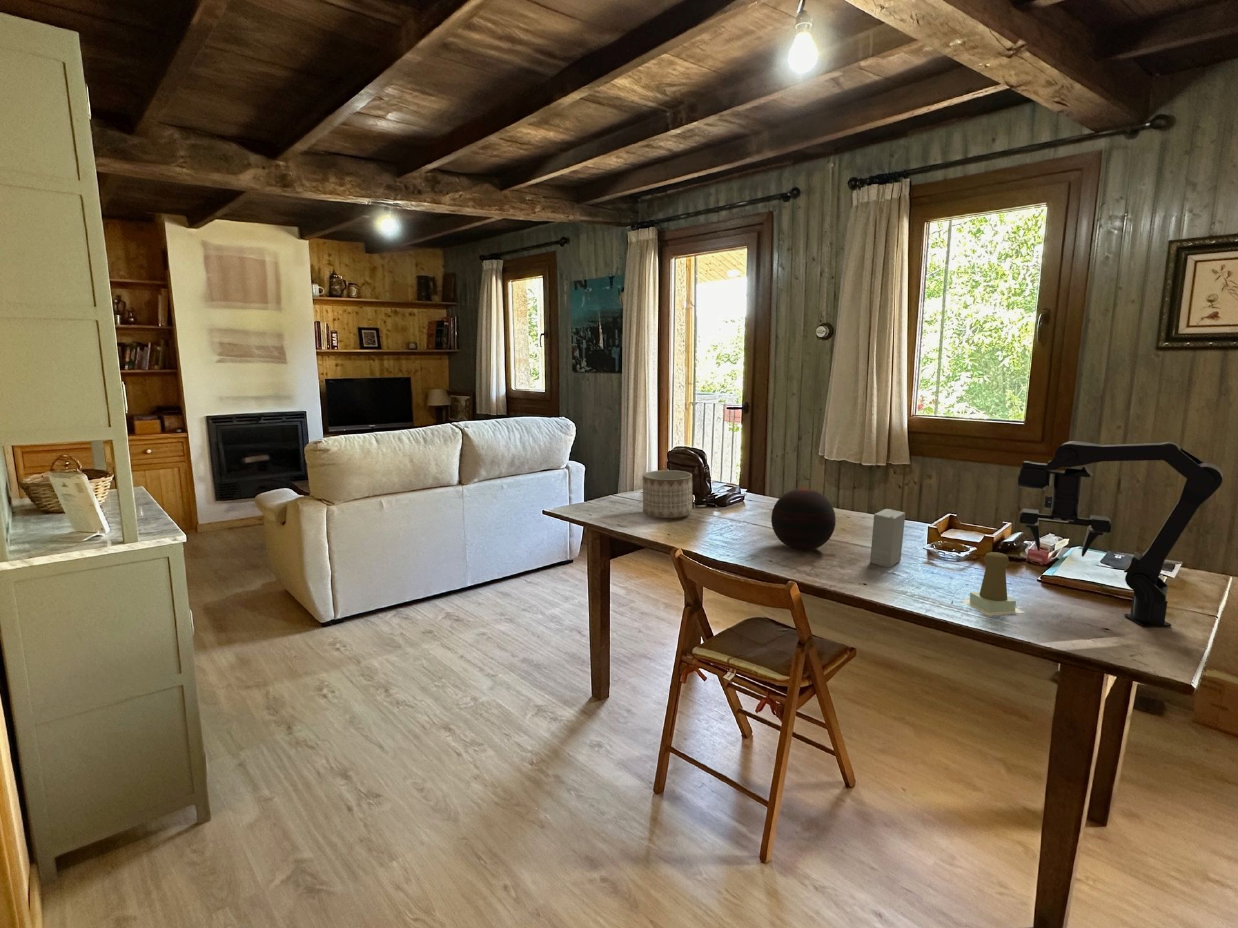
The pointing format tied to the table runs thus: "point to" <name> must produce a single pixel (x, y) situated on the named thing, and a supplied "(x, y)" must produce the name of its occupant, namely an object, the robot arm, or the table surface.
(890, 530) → the skincare box
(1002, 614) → the tower slab
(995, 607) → the tower block
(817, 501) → the decorative orb
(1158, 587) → the robot arm
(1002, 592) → the olive pawn shaped peg
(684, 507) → the planter
